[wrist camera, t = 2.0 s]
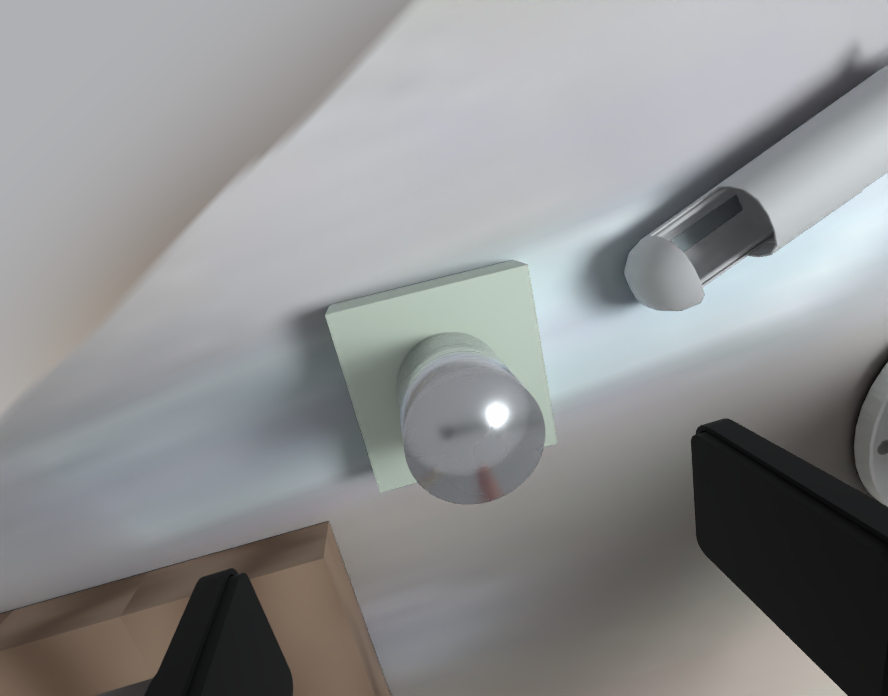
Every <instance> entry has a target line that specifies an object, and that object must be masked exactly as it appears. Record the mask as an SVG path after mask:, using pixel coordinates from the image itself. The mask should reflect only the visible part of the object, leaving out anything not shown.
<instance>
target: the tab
mask: <svg viewBox="0 0 888 696" xmlns="http://www.w3.org/2000/svg"><path fill="white" fill-rule="evenodd" d="M325 317H326V320H327V323H328V327H329V330H330V333H331V336H332V340H333V343H334V346H335V349H336V353H337V356H338V359H339V362H340V365H341V369H342V372H343V375H344V378H345V382H346V385H347V388H348V391H349V395H350V398H351V401H352V404H353V408H354V411H355V414H356V417H357V420H358V424H359V427H360V430H361V433H362V437H363V440H364V443H365V446H366V450H367V453H368V456H369V459H370V462H371V466H372V469H373V472H374V475H375V479H376V482H377V485H378V488H379V492H380V493H382V492H385V491H389V490H393V489H396V488H400V487H403V486H407V485H410V484H414V483H418V482H417V481H416V480H415V478H414V477H413V475H412V473H411V472H410V470H409V468H408V465H407V462H406V458H405V453H404V446H403V438H402V430H401V423H400V415H399V407H398V399H397V391H396V381H397V375H398V371H399V368H400V365H401V363H402V362H403V360H404V358H405V357H406V355H407V354H408V353H409V351H410V350H411V349H412V348H413V347H414V346H416V345H417V344H418V343H419V342H421V341H423V340H424V339H426V338H428V337H430V336H433V335H436V334H439V333H445V332H461V333H466V334H469V335H472V336H474V337H476V338H478V339H480V340H482V341H483V342H485V343H486V344H487V345H488V346H489V347H490V348H491V349H492V350H493V351H494V353H495V354H496V355H497V356H498V357H499V358H500V359H501V361H502V362H503V363H504V364H505V365H506V366H507V367H508V369H509V370H510V371H511V372H512V373H513V374H514V375H515V377H516V378H517V379H518V380H519V381H520V382H521V383H522V385H523V386H524V387H525V388H526V389H527V390H528V391H529V393H530V394H531V395H532V396H533V397H534V399H535V400H536V402H537V403H538V405H539V407H540V409H541V412H542V414H543V418H544V422H545V443H544V447H547V446H550V445H554V444H557V438H556V432H555V426H554V419H553V413H552V407H551V401H550V395H549V389H548V383H547V377H546V371H545V365H544V359H543V353H542V347H541V341H540V335H539V329H538V322H537V316H536V310H535V304H534V298H533V292H532V286H531V280H530V274H529V268H528V264H524V263H521V262H518V261H515V260H511V261H506V262H502V263H498V264H494V265H490V266H486V267H482V268H478V269H474V270H470V271H466V272H462V273H458V274H454V275H450V276H446V277H442V278H437V279H433V280H429V281H425V282H421V283H417V284H413V285H409V286H405V287H401V288H397V289H393V290H389V291H385V292H381V293H377V294H373V295H368V296H364V297H360V298H356V299H352V300H348V301H344V302H340V303H336V304H332V305H329V308H328V310H327V312H326V314H325Z"/></svg>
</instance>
